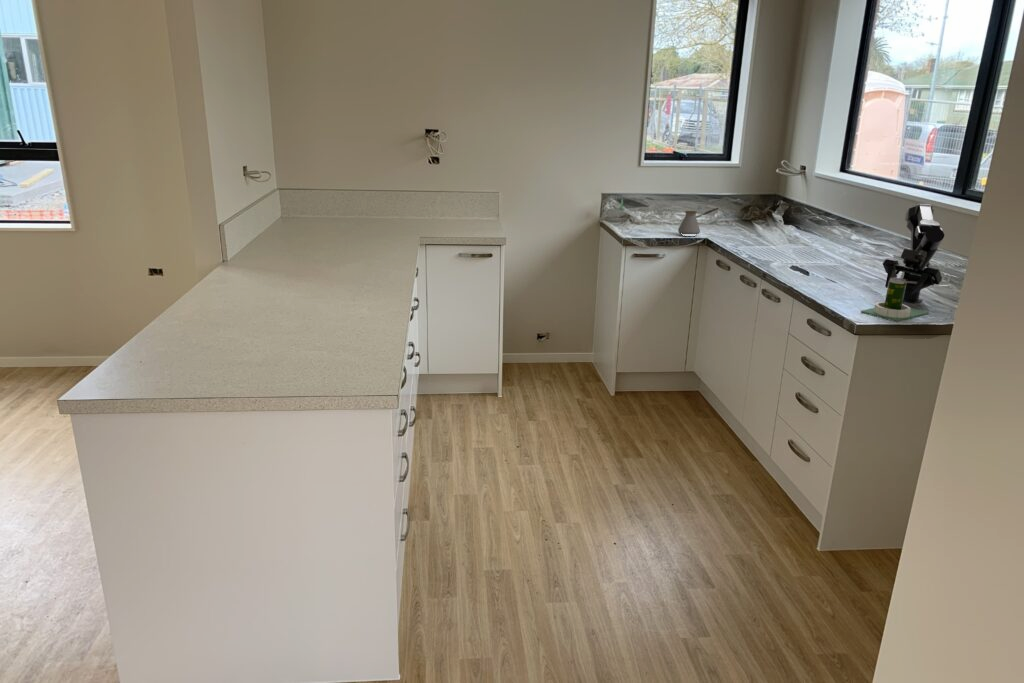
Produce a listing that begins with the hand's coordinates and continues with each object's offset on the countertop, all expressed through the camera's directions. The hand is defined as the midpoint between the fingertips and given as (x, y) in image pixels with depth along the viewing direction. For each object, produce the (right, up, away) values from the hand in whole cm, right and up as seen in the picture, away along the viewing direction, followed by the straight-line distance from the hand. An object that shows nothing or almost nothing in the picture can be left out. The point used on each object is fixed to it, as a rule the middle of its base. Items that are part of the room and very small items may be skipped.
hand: (898, 290), depth 250 cm
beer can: (-2, -8, +1) cm, 8 cm away
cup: (-2, -8, +1) cm, 9 cm away
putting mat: (0, -8, +3) cm, 8 cm away
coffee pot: (-34, +39, +139) cm, 148 cm away
